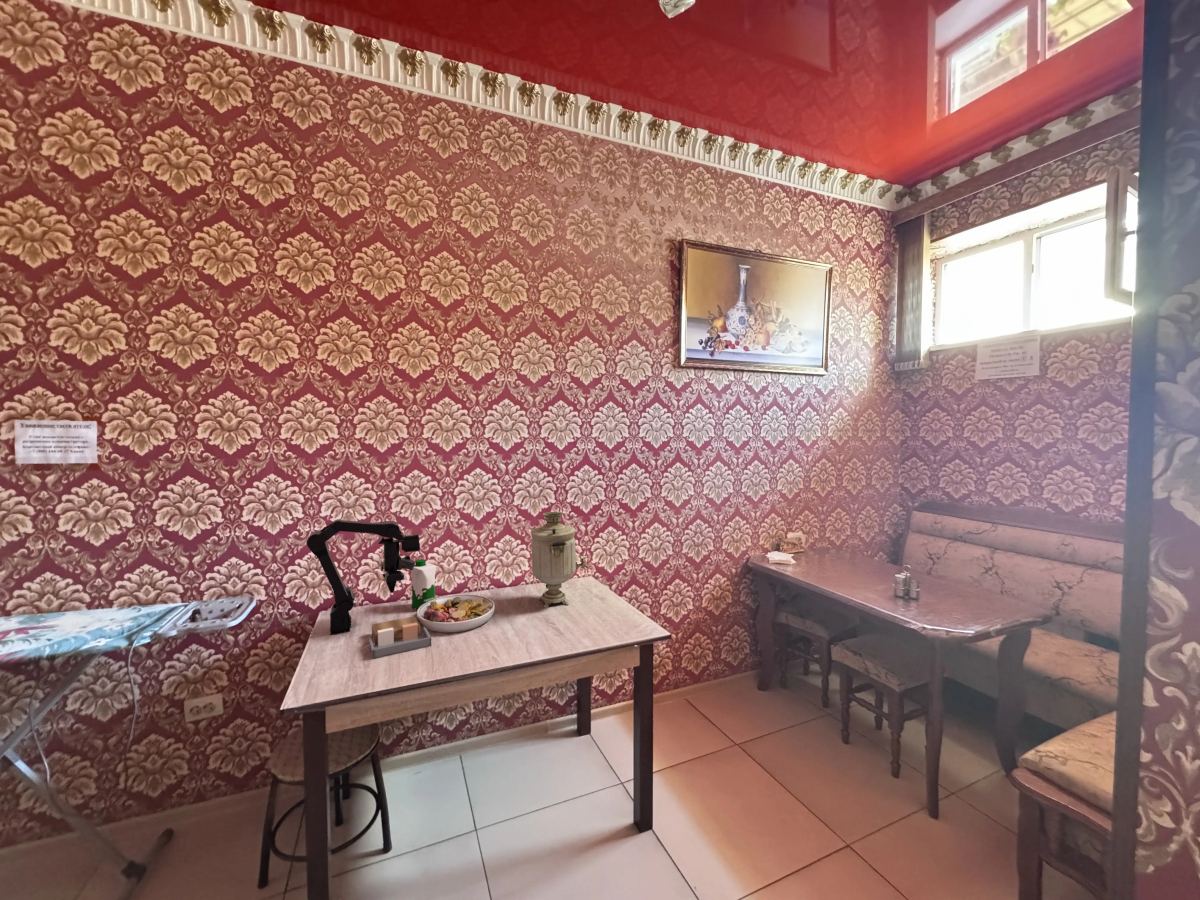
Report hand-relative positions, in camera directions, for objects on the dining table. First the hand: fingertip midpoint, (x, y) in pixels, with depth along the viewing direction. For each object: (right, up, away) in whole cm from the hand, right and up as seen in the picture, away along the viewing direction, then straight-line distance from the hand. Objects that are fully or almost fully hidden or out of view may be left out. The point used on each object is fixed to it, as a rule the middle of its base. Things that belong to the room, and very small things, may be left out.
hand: (392, 592), depth 184 cm
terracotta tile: (+12, -10, -13) cm, 21 cm away
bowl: (+24, -13, +5) cm, 28 cm away
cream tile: (+5, -10, -18) cm, 21 cm away
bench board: (+6, -13, -11) cm, 18 cm away
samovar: (+64, -12, +24) cm, 70 cm away
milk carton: (+6, -12, +16) cm, 21 cm away
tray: (+12, -13, -19) cm, 26 cm away
